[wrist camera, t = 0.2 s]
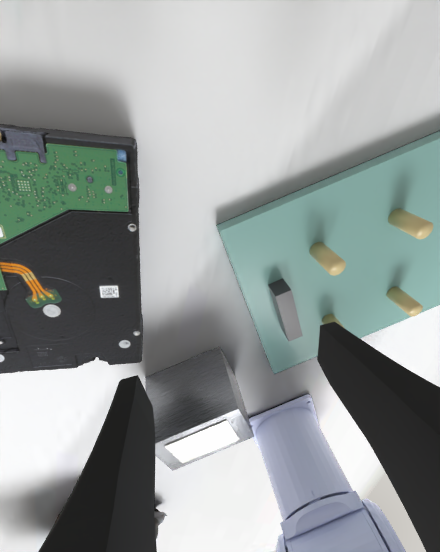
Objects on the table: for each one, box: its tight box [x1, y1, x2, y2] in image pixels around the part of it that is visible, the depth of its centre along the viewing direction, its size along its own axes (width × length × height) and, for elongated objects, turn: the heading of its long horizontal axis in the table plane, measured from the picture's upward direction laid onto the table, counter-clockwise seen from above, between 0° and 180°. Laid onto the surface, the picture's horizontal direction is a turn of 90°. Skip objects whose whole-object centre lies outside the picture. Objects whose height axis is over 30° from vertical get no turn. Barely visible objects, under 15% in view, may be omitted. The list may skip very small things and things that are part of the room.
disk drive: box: [0, 124, 143, 374], centre depth 17 cm, size 10×3×15 cm
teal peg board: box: [216, 131, 440, 374], centre depth 22 cm, size 16×18×4 cm
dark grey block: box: [146, 347, 254, 470], centre depth 24 cm, size 4×7×6 cm, turn 109°
